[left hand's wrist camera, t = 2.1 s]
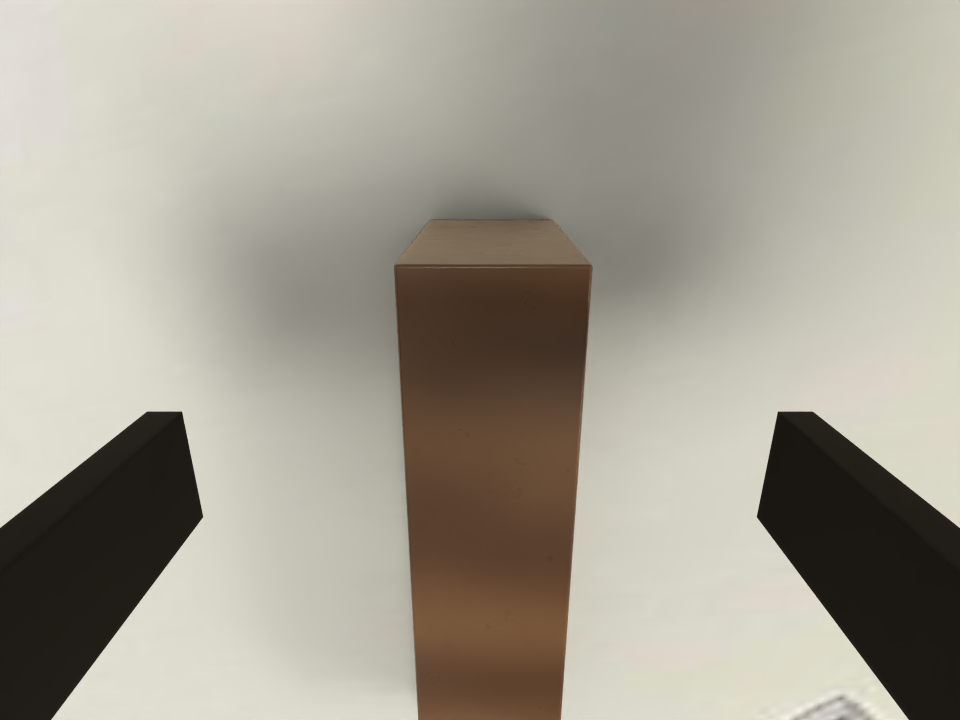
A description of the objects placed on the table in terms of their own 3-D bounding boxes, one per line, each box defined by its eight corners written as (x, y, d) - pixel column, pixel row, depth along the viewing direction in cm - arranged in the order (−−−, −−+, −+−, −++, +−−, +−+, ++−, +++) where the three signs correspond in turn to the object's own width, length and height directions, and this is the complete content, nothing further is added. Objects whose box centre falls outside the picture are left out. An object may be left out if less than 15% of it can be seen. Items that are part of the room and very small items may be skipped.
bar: (428, 219, 23) (393, 264, 14) (553, 219, 23) (593, 265, 14) (443, 700, 33) (427, 901, 24) (532, 701, 32) (548, 903, 24)
